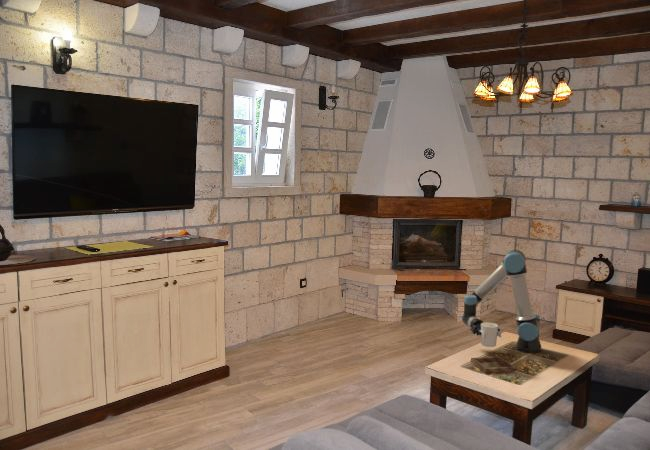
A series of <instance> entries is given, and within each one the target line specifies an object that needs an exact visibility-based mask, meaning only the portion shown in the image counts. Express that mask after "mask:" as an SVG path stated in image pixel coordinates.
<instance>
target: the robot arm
mask: <svg viewBox="0 0 650 450" xmlns="http://www.w3.org/2000/svg"><path fill="white" fill-rule="evenodd" d="M526 259H527V258H526V255H525V253H524V252H522V251H521V250H518V249H513V250H510V251H509V252H508V253H507V254H506V255H505V256H504V258H503V260H502V261H501V264H500V265H499V266H497V268H496V269H495V270H494V271H493V272H492V273H491V274H490V275H489V276H488V277H487V278H486V279H485V280H483V282H481V284H480V285H479V286H478V287H477V288H476V289H475V290H473V292H472V293H471V294H467V295H464V299H463V301H464V302H463V303H464V304H463V313H462V315H461V318H460V319H461V321H462V323H463V324H465V326H468V327H469V330H470V331H471V332H472V335H476V336H477V337H479V336H480V337H481V336H482V337H483V338H485V333H484V332H482V331H481V323H484V321H483V320H481V319H480V318H478V317H477V307H478V305H479V304H480V303H481V302H482V301H483V300H484V299H485V298H487V296H488V295H489V294H491V292H492V291H493V290H495V289H496V287H497V286H499V285H500V283H502V282H503V280H505V279H506V278H507V277H509V278H510V283H511V288H512V293H513V297H514V298H513V299H514V301H515V307H516V312H517V316H516V317H515V320H516V324H517V329H516V330H517V331H516V332H517V335H518V338H517V341H516V343H515V348H516V349H517V350H518V351H520V352H524V353H530V354H537V353H540V352H542V344H541V341H540V326H541V325H540V322H541V316H540V314H537V313H533V309H532V304H531V303H532V302H531V299H530V294H529V289H528V283H527V279H526V275H527V273H528V271H527V264H526V261H527V260H526ZM497 337H499V338H502V332H501V328H499V327H498V331H497Z"/></svg>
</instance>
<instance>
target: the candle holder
mask: <svg viewBox="0 0 650 450" xmlns="http://www.w3.org/2000/svg"><path fill="white" fill-rule="evenodd" d="M498 328H499V324H497V323H494V322H490V321H489V322H488V321H487V322H485V321H484V322H483V323H481V331H482V332H484V333H485V338H483V337H482V336H480V344H481V345H482V346H484V347H488V348H494V347H497V339H498V336H497V331H498Z"/></svg>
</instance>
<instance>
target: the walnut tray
mask: <svg viewBox="0 0 650 450" xmlns="http://www.w3.org/2000/svg"><path fill="white" fill-rule="evenodd" d="M470 363H471V364H472V365H473V366H475V367H476V368H478V369H479V370H480V371H482V372H483V373H484V374H486V375H487V374H498V373H499V374H500V373H502V374H503V373H513V372H516V366H514V365H513V364H511V363H509V362H508V361H507V360H506V359H504V358H503V357H501V356H481V357H479V356H478V357H471V358H470Z"/></svg>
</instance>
